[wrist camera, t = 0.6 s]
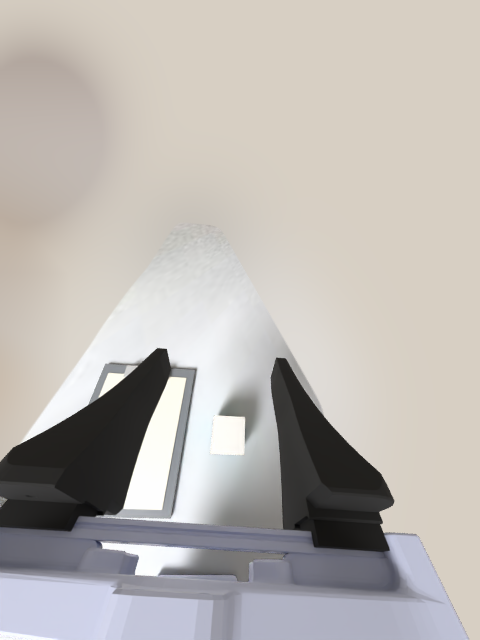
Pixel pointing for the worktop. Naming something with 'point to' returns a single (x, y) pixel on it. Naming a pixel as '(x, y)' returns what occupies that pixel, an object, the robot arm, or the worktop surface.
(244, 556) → the worktop surface
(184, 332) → the worktop surface
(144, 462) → the clipboard
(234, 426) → the teal-topped white block
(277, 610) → the robot arm
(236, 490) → the worktop surface
